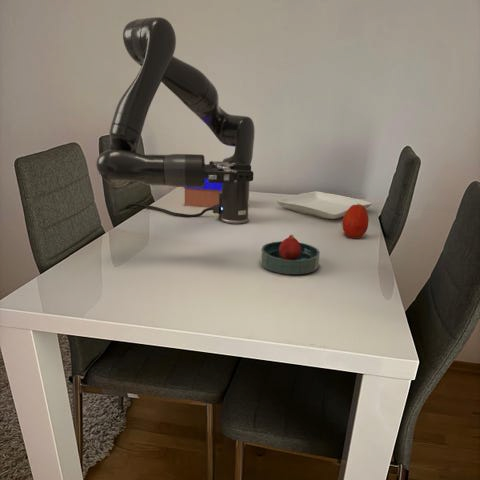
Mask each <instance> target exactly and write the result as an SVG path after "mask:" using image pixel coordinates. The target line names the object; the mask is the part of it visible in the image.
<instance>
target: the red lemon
mask: <svg viewBox="0 0 480 480" xmlns="http://www.w3.org/2000/svg"><path fill="white" fill-rule="evenodd" d="M282 241H283V242H282V243H281V245H280V247H279V254H280V256H281V258H282V259H287V260H296V259H298V257H299V256H300V254H301V246H300V243H301V242H300V243H299V240H298V239H296V238H295V236H294V235H293V234H289V236H288V237H286V238H285V239H283V240H282Z"/></svg>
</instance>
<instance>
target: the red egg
mask: <svg viewBox="0 0 480 480" xmlns="http://www.w3.org/2000/svg"><path fill="white" fill-rule="evenodd" d="M369 220H370V218H369V214H368V211H367V208H366V209H365V207H364V206H363V205H361V204H358V205H352V206H351V207H350V208H349V209H348V210H347V212H346V213H345V215H344V216H343V217H342V223H341V225H342V231H343V233H344V235H346V236H347V238H350V239H359V238H363V236H364V235H365V234H366V232H367V230H368V228H369V222H370V221H369Z"/></svg>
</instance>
